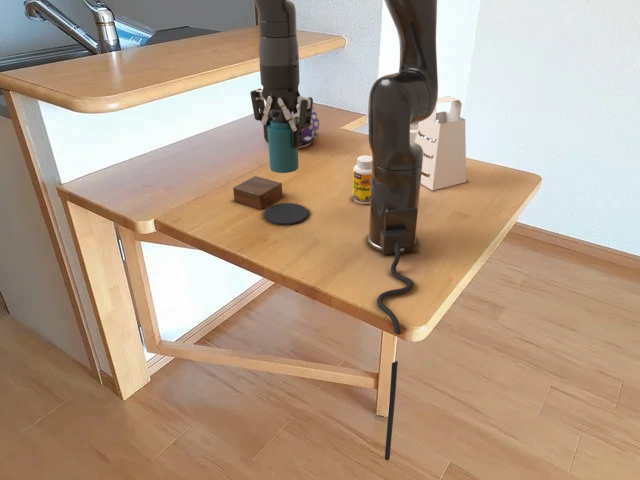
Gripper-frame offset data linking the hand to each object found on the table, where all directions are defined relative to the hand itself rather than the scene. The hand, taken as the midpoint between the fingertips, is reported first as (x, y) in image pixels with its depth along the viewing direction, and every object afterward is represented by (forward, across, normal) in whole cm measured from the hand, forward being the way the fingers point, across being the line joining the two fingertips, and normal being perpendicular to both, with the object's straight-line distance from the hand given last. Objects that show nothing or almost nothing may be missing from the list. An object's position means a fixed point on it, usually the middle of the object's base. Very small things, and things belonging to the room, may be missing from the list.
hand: (283, 144), depth 108 cm
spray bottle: (+4, 0, +4) cm, 6 cm away
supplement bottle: (+17, +11, +16) cm, 25 cm away
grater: (+17, +20, +36) cm, 45 cm away
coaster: (+16, 0, 0) cm, 16 cm away
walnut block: (+16, -10, +3) cm, 19 cm away
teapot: (+16, -26, +38) cm, 49 cm away
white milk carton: (+17, +5, +50) cm, 53 cm away
